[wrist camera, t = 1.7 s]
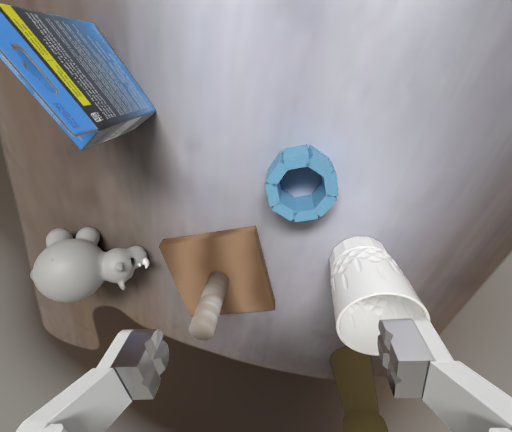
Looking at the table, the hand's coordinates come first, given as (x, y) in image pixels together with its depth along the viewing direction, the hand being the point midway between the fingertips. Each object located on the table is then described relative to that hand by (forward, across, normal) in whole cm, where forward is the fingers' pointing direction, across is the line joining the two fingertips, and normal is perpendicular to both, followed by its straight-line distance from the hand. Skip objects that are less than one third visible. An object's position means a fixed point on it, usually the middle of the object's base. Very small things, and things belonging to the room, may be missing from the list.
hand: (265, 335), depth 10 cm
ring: (+21, -2, +1) cm, 21 cm away
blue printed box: (+22, +14, -10) cm, 28 cm away
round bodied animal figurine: (+22, +23, +8) cm, 33 cm away
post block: (+22, +9, +13) cm, 27 cm away
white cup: (+21, -8, +12) cm, 26 cm away
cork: (+21, -8, +31) cm, 39 cm away
